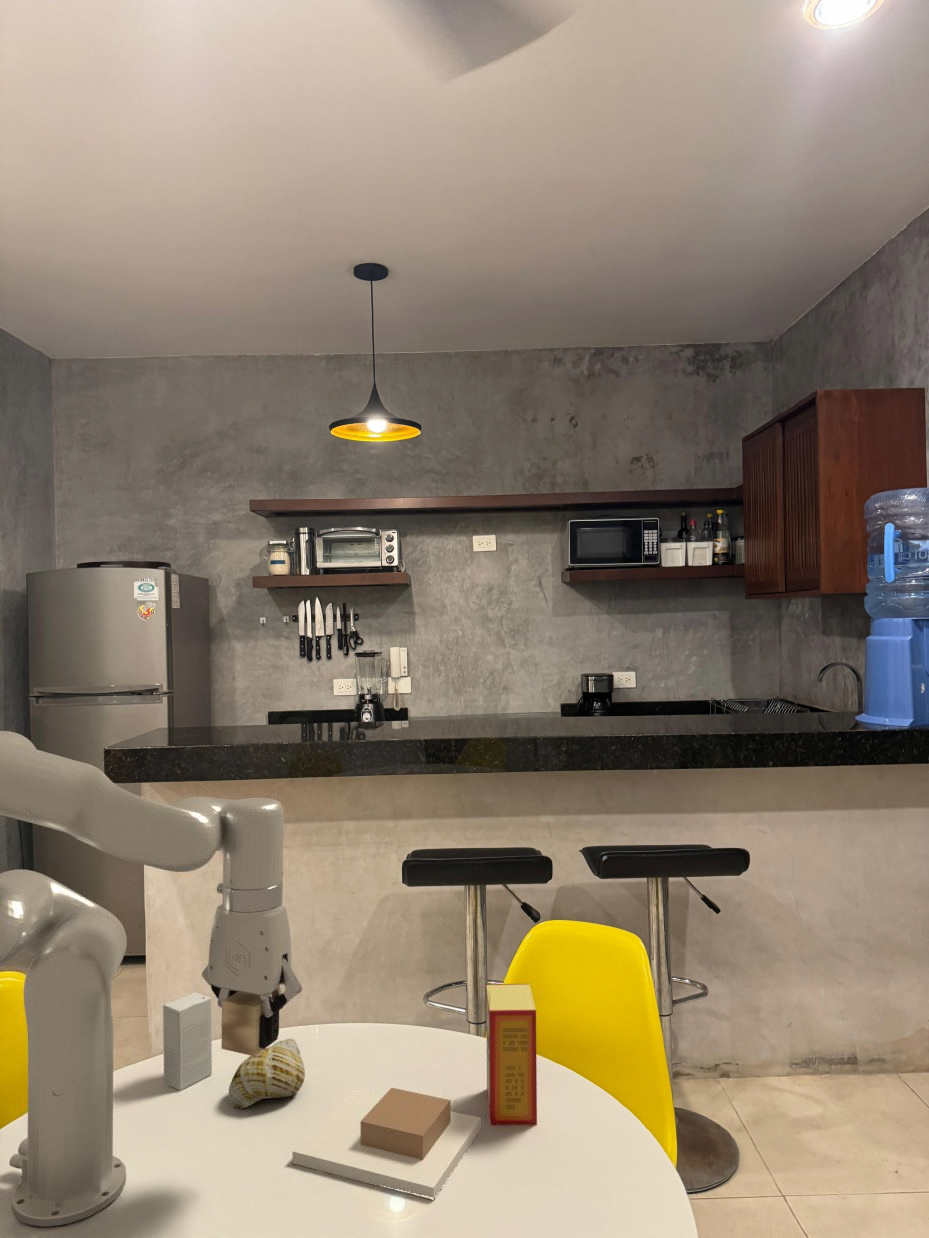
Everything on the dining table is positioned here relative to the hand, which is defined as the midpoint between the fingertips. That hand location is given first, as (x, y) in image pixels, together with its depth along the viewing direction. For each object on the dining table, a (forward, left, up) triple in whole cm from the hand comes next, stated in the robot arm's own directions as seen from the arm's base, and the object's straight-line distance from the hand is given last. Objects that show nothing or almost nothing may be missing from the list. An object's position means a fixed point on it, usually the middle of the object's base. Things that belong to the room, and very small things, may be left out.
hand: (249, 1038), depth 108 cm
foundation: (+14, +11, -17) cm, 25 cm away
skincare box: (-23, +15, -17) cm, 32 cm away
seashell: (-8, +16, -17) cm, 25 cm away
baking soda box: (+26, +26, -17) cm, 41 cm away
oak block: (0, 0, -1) cm, 1 cm away
